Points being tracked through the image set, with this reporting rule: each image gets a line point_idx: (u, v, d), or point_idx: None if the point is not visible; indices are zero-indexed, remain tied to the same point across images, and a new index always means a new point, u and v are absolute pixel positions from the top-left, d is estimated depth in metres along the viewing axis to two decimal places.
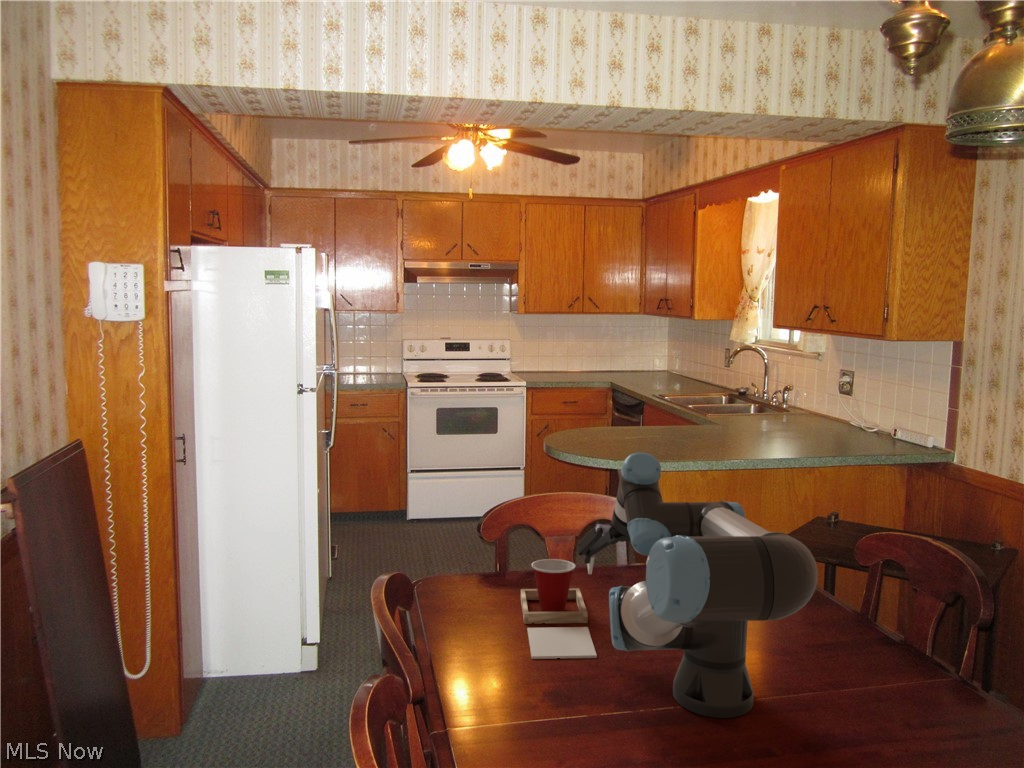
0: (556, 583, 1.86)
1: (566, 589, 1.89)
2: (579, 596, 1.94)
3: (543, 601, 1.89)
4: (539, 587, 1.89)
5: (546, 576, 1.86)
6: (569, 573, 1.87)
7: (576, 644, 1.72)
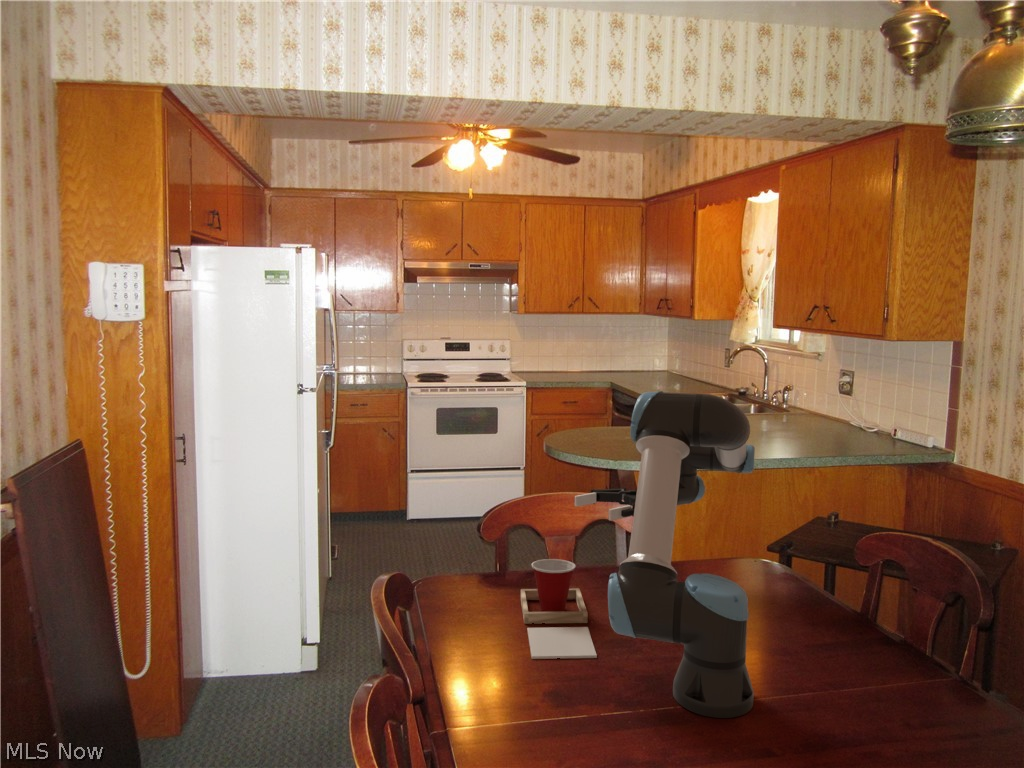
0: (556, 583, 1.86)
1: (566, 589, 1.89)
2: (579, 596, 1.94)
3: (543, 601, 1.89)
4: (539, 587, 1.89)
5: (546, 576, 1.86)
6: (569, 573, 1.87)
7: (576, 644, 1.72)
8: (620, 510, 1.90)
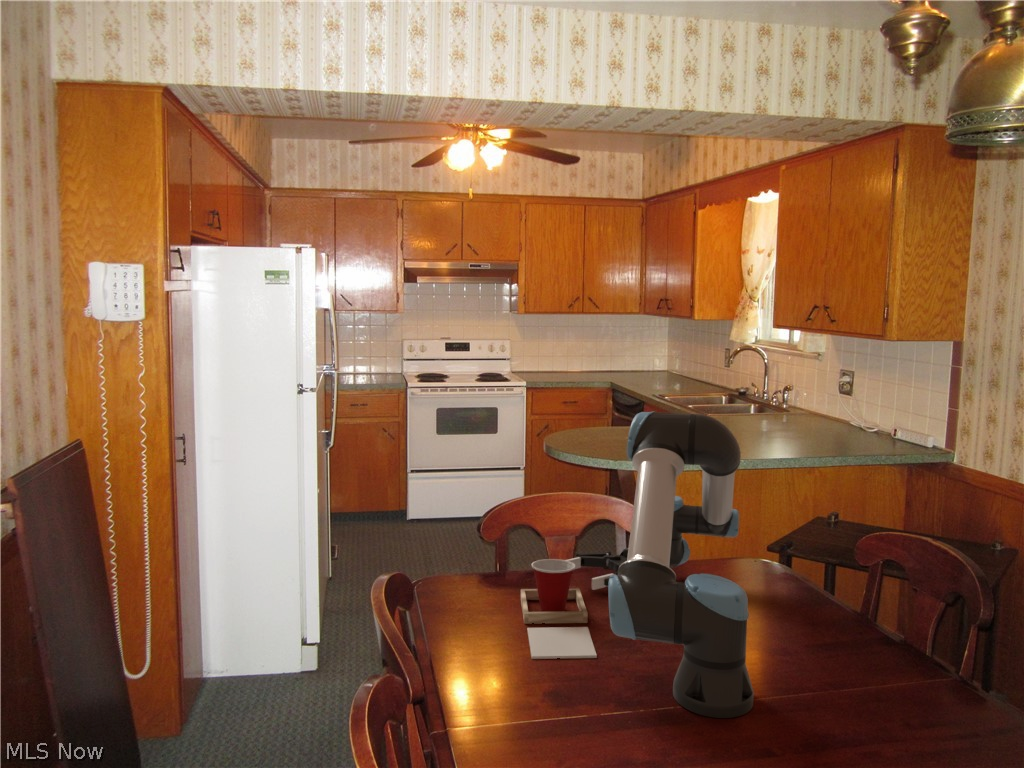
0: (556, 583, 1.86)
1: (566, 589, 1.89)
2: (579, 596, 1.94)
3: (543, 601, 1.89)
4: (539, 587, 1.89)
5: (546, 576, 1.86)
6: (569, 573, 1.87)
7: (576, 644, 1.72)
8: (603, 579, 1.91)
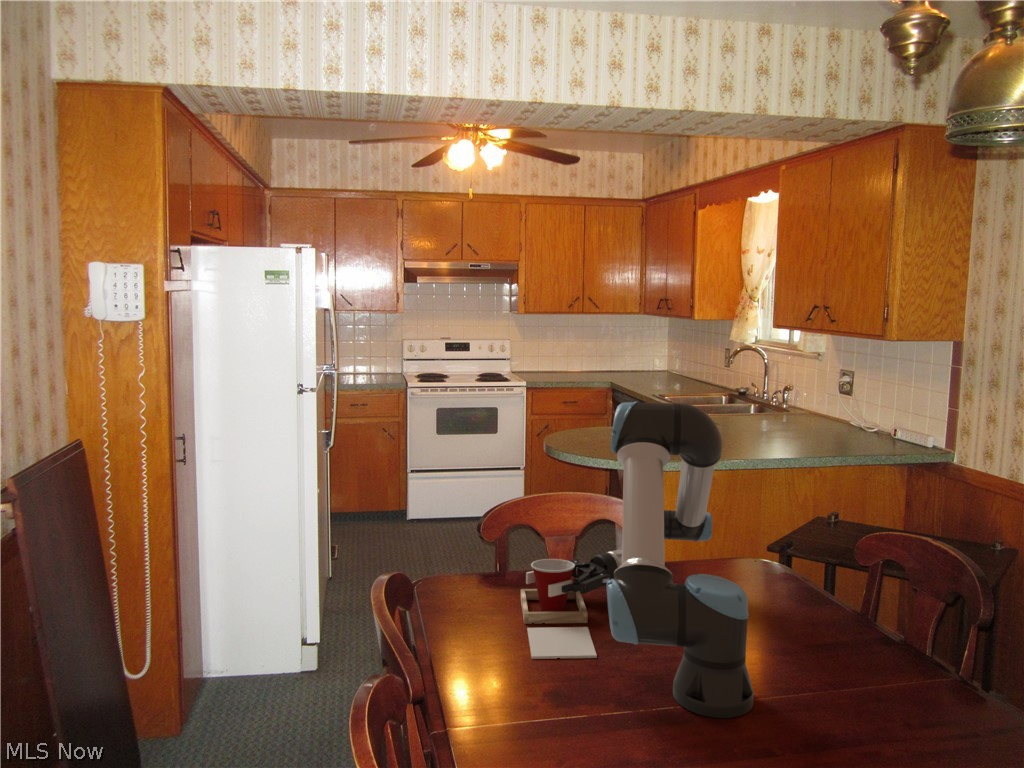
0: None
1: None
2: (579, 596, 1.94)
3: (543, 601, 1.89)
4: (539, 587, 1.89)
5: (546, 576, 1.86)
6: (569, 572, 1.88)
7: (576, 644, 1.72)
8: (560, 586, 1.86)
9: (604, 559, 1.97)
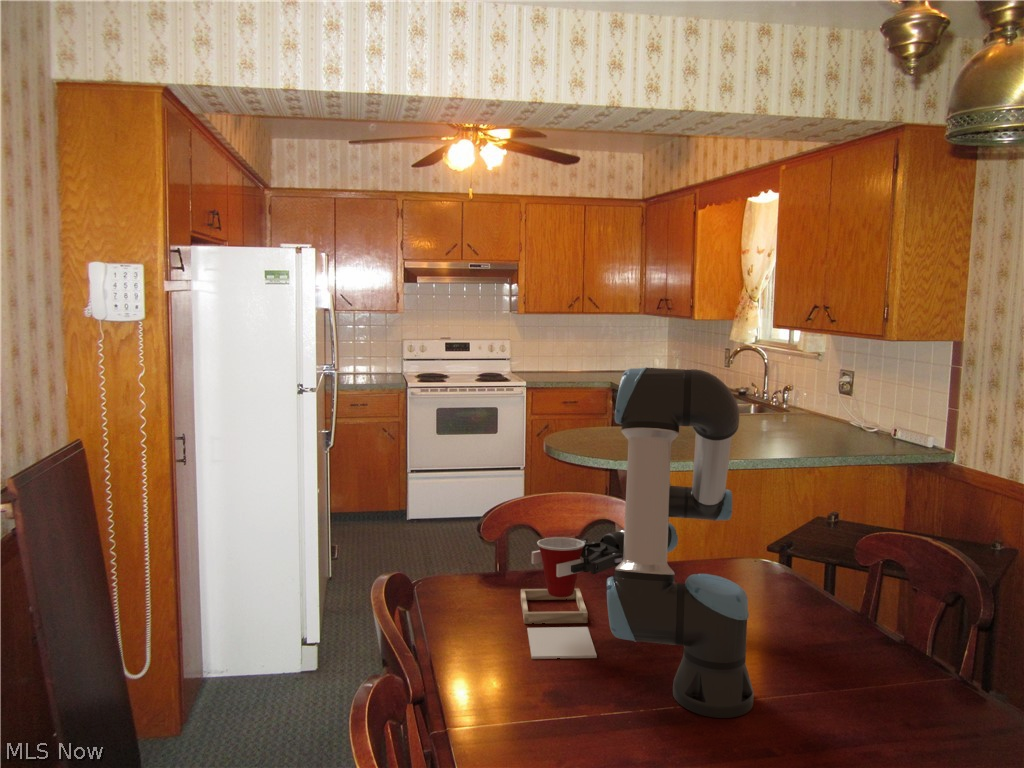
0: None
1: None
2: (579, 596, 1.94)
3: (550, 582, 1.73)
4: (546, 567, 1.73)
5: (553, 554, 1.71)
6: (578, 551, 1.72)
7: (576, 644, 1.72)
8: (569, 565, 1.70)
9: (616, 537, 1.82)
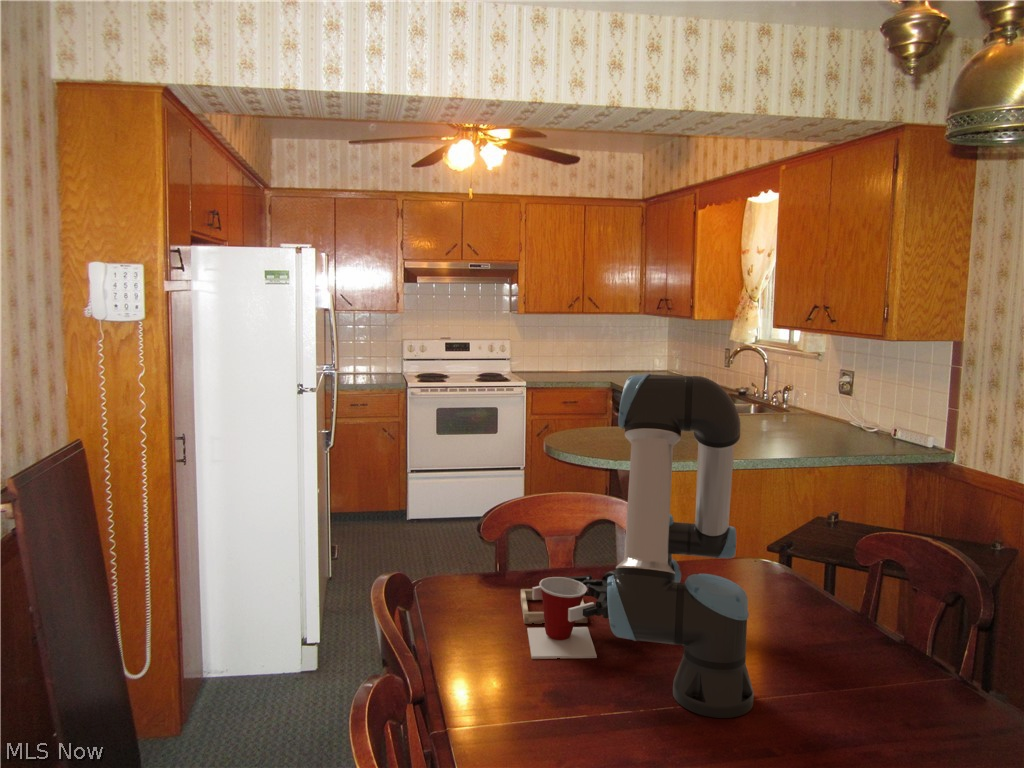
0: (564, 608, 1.71)
1: None
2: None
3: (549, 624, 1.74)
4: (546, 609, 1.73)
5: (555, 599, 1.71)
6: (580, 597, 1.72)
7: (576, 644, 1.72)
8: (581, 609, 1.67)
9: None
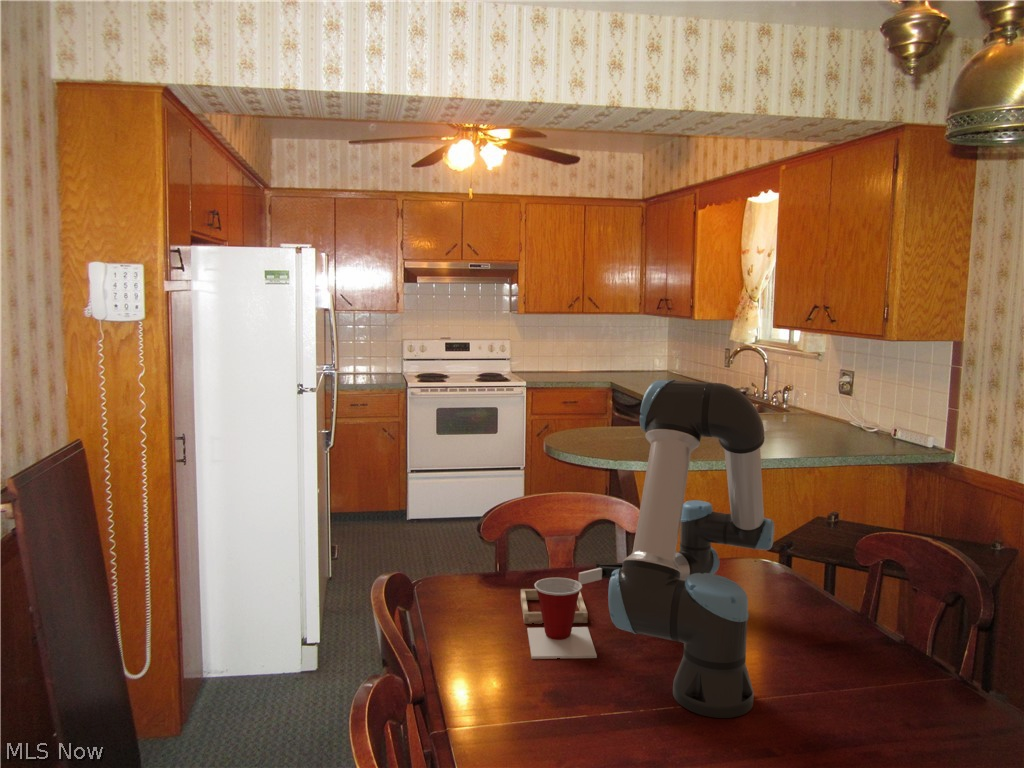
0: (560, 606, 1.72)
1: (572, 612, 1.74)
2: (579, 596, 1.94)
3: (547, 624, 1.74)
4: (542, 609, 1.74)
5: (549, 598, 1.72)
6: (575, 595, 1.73)
7: (576, 644, 1.72)
8: None
9: None
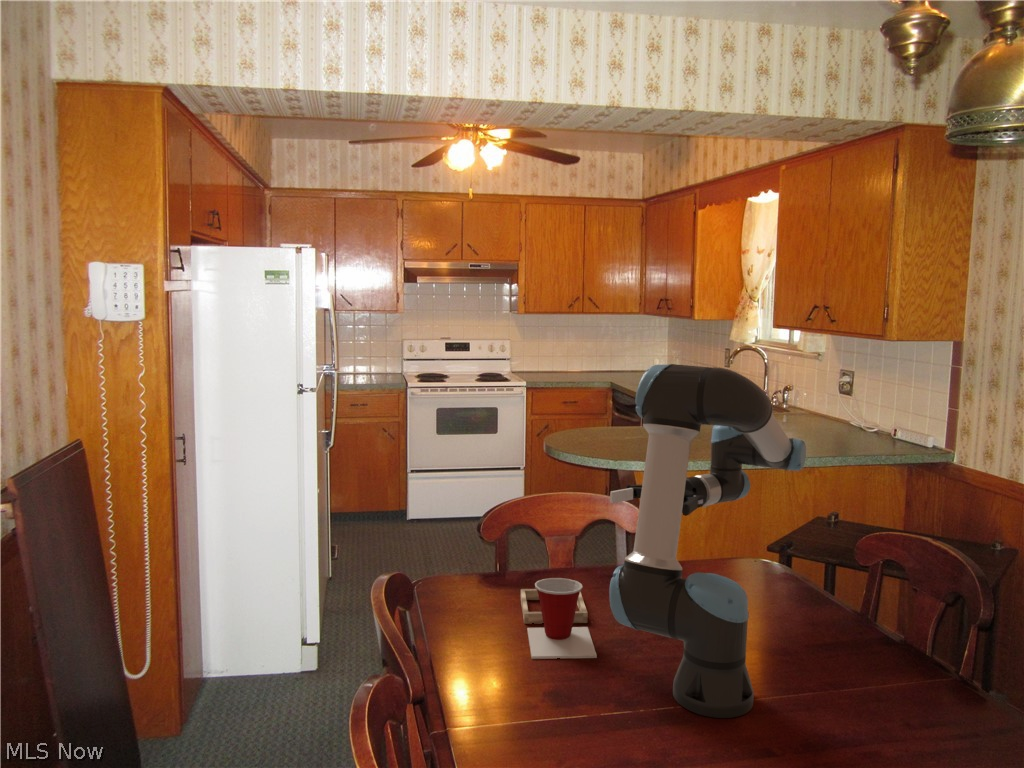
0: (560, 605, 1.72)
1: (572, 612, 1.74)
2: (579, 596, 1.94)
3: (547, 624, 1.74)
4: (543, 609, 1.74)
5: (550, 597, 1.72)
6: (575, 595, 1.73)
7: (576, 644, 1.72)
8: None
9: (692, 481, 1.85)
